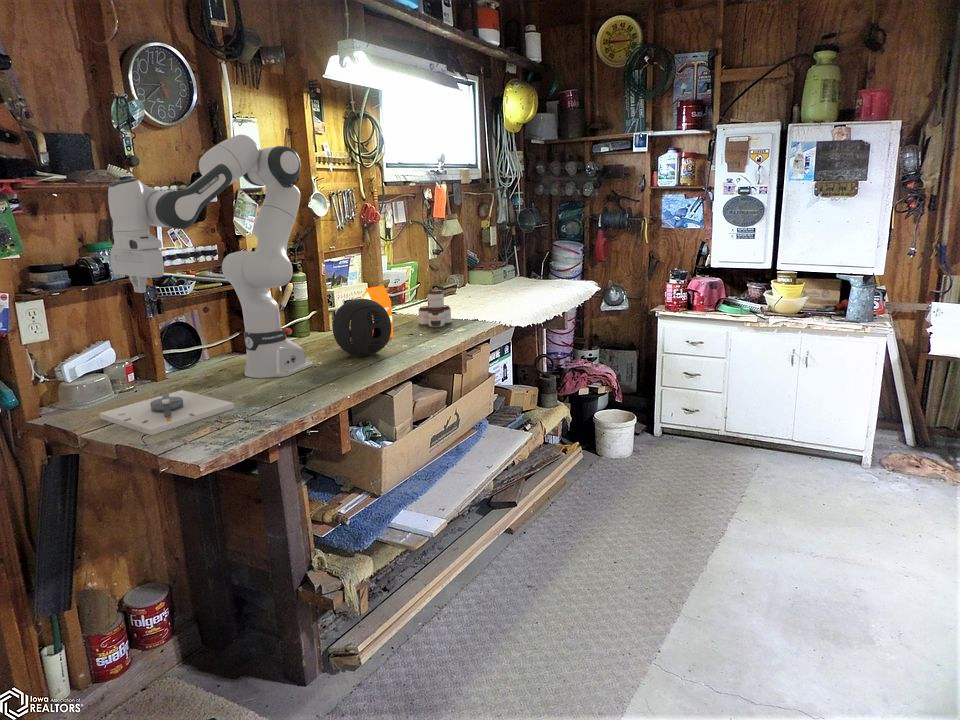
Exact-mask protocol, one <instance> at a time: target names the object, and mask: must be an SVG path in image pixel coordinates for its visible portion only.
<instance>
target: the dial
mask: <svg viewBox="0 0 960 720" xmlns="http://www.w3.org/2000/svg"><path fill="white" fill-rule="evenodd" d="M169 394H170V392H169V393H162V394H161V396H162V398H160V399H157V400H154V401H152V402H151V403H150V406H151V410H152V411H155V412H164V417H170V416H171V411H172V410H176V409H179V408H181V407H183V399H182V398H180V397H169Z"/></svg>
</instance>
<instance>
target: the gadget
mask: <svg viewBox="0 0 960 720" xmlns="http://www.w3.org/2000/svg"><path fill="white" fill-rule="evenodd" d="M372 315H373V317H372ZM373 321H374V323H373ZM331 329H332V334H333V337H334V339H335V342H336V343H337V345H338V347H339V348H341V349H342V351H343V352H346V353H348V354H349V355H353V356H357V357H360V356H361V357H366V356H367V357H368V356H371V355H374V354H376V353H379V352H380V351H381V350H383V349H384V348H385V346H386V345H387V344H388V342H389V340H390V338H391V337H390V335H391V320H390V317H389V315H388V313H387V311H386V310H385V308H384V307H383V306H382V305H380V304H379V303H377V302H376V301H373V300H370V299H362V298H356V299H351V300H349V301H346V302H345V303H343V304H342V305H341V306H340V307H339V308H338V309H337V310H336V312H335V313H334V317H333V319H332V328H331ZM372 334H373V336H372Z"/></svg>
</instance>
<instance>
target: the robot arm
mask: <svg viewBox="0 0 960 720" xmlns="http://www.w3.org/2000/svg"><path fill="white" fill-rule="evenodd" d="M198 168H199V172H200V175H201V176H200V177H199V178H197V180H195V181H194V182H193V183H191V184H190V185H189V186H187V187H186V188H184V189H177V190H171V191H170V190H169V191H162V190H161V191H160V190H158V189H155V188H152V187H151V186H147V185H146V184H144V182H143V183H142V182H141V180H140V179H138V178H127V179H121V180H116V181H113V182H112V183H111V184H109V186H108V193H107V194H108V195H107V197H108V199H107V200H108V209H109V213H110V214H109V215H110V217H111V219H112V222H113V223H112V235H113V240H114V241H113V244H112V246H111V247H112V248H111V249H110V266H111V271H112V274H114V275H120V276H128V278H129V281H130V283H131V284H132V288H133V291H134V293H139V294H143V293H144V294H145V293H146V292H147V287H146V285H147V282H148V278H149V279H152V278H153V279H154V278H155V279H156V278H161V277H163V276H164V273H165V265H164V258H163V253H162V251H161V249H162V246H163V244H162V240H161V239H159V238H157V237H155V236H154V235H153V234H151V233H150V226H151V227H152V226H153V227H160V228H171V229H177V230H184V229H188V228H189V227H191V226H192V225H194V223H195V222H196V221H197V219H198V217H199V215H200V213H201V212H202V210H203V209H204V208H205V207H206V206H207V205H208V204H209V203H211V202H212V201H213V200H214V199H215V198H216V197H217V196H219V195H220V194H221V193H222V192H224V190H226V189H227V188H228V187H229V186H231V185H232V184H233V183H235V182H236V181H238V180H239V179H240V178H242V177H243V179H244V180H245V181H246V182H248V184H251V185H252V186H256V187H265V196H264V200H263V202H262V204H261V206H260V208H259V211H258V214H257V217H256V218H255V219H256V220H255V222H254V224H253V227H252V228H253V229H252V232H253V234H254V236H255V237H256V238H257V239H256V240H257V241H256V242H257V244H256V248H255V250H254V251H252V250H251V251H250V250H238V251H234V252H231V253H228V254H227V255H226V256H225V257H224V258H223V261H222V263H221V271H222V274H223V277H224V278H225V279H226V281H228V282H229V283H230V284H231V286H232V287H233V289H234V291H235V293H236V295H237V298H238V300H239V303H240V306H241V309H242V316H243V317H242V318H243V324H244V325H243V326H244V331H243V337H244V338H243V339H244V344H245V348H246V350H245V351H246V359H245V360H246V361H245V369H244V374H243V375H244V376H245V377H248V378H252V379H253V378H254V379H255V378H256V379H257V378H259V379H265V378H277V377H279V378H280V377H282V378H283V377H288V376H291V375H293V374H296V373H298V372H301V371H303V370H306V369H307V368H308V369H309V368H311V367H313V366H314V362H313V361H311V360H309V359H306V354H305V351H304V349H303V348H302V346H300V345H298V344H297V343H295V342H293V341H292V340H290V339H289V338H288V337H287V335H292V334H293V330H292V328H290V327H289V328H288V327H285V328H283V327H282V324H281V315H280V314H281V313H280V306H279V303H278V302H277V301H276V299H274V297H272V295H271V294H270V292H269V290H268V288H269V289H273V288H280V287H284V286H286V285H287V284H289V282H290V281H291V279H292V277H293V271H294V270H293V265H292V262H291V260H290V259H289V257H288V242H289V239H290V236H291V233H292V230H293V226H294V224H295V221H296V219H297V217H298V212H299V210H300V209H299V207H300V203H301V191H300V190H299V188H298V187H297V186H296V185H297V183H298V182H299V180H300V172H301V159H300V156H299V154H298V153H297V152H296V150H294V149H293V148H292V147H289V146H284V145H278V146H274V147H273V146H271V147H265V148H260V147H259V146H258V145H257V143H256V141H255V140H254V139H253V138H251V137H250V136H249V135H246V134H238V135H234V136H230V137H229V138H226V139H224V140H223V141H221V142H219V143H217V144H216V145H214V146H212V147H211V148H209V149H208V150H207V151H206V152H205V153H204V154H203V155H202V156H201V157H200V159H199V161H198Z"/></svg>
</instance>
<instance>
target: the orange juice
mask: <svg viewBox="0 0 960 720" xmlns="http://www.w3.org/2000/svg"><path fill="white" fill-rule="evenodd" d="M361 299H370V300H373V301H376V302H377V303H379V304H380V305H382V306H383V307H384V308H385V310H386V311H387V313H388V315H389V317H390V320H391V335H390V338H393V337H394V332H393V331H394V329H393V315H392V313H393V312H392V311H393V310H392V300H391V299H390V296H389V294H388V292H387V289H386V287H385V285H380V286H372V287H366V289H365V291H364V294H363V295H362V298H361ZM372 317H373V315H372ZM373 323H374V321H373ZM372 336H373V334H372Z"/></svg>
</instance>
